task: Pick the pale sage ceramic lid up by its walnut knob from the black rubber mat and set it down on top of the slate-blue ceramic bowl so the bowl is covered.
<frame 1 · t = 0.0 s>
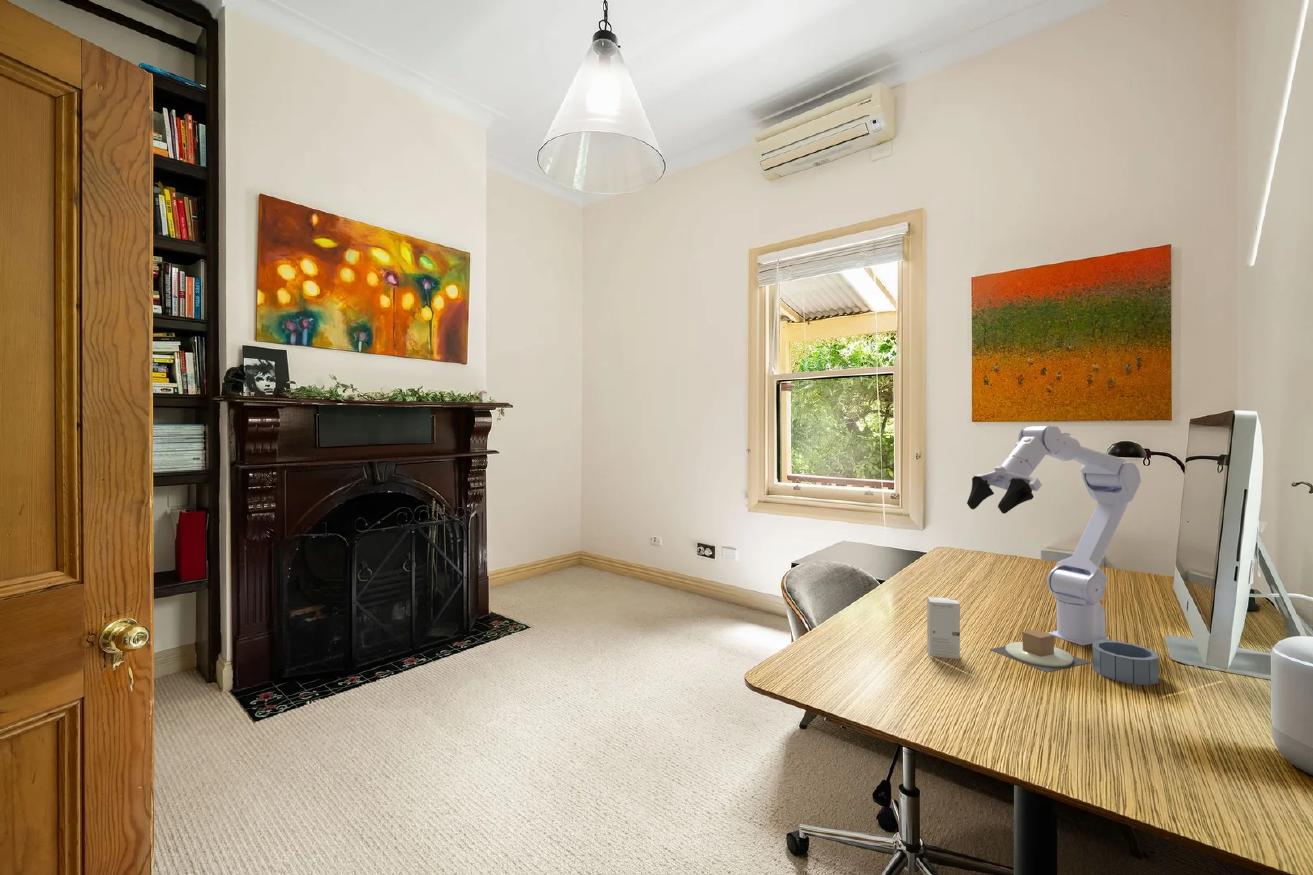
hand: (985, 508, 121), 32 cm above the table, tool tilted 50°, fingers open, 7 cm apart
mat: (1038, 656, 120), on the table
lid: (1038, 655, 120), resting on mat
bowl: (1125, 674, 111), on the table
skincare box: (943, 655, 122), on the table
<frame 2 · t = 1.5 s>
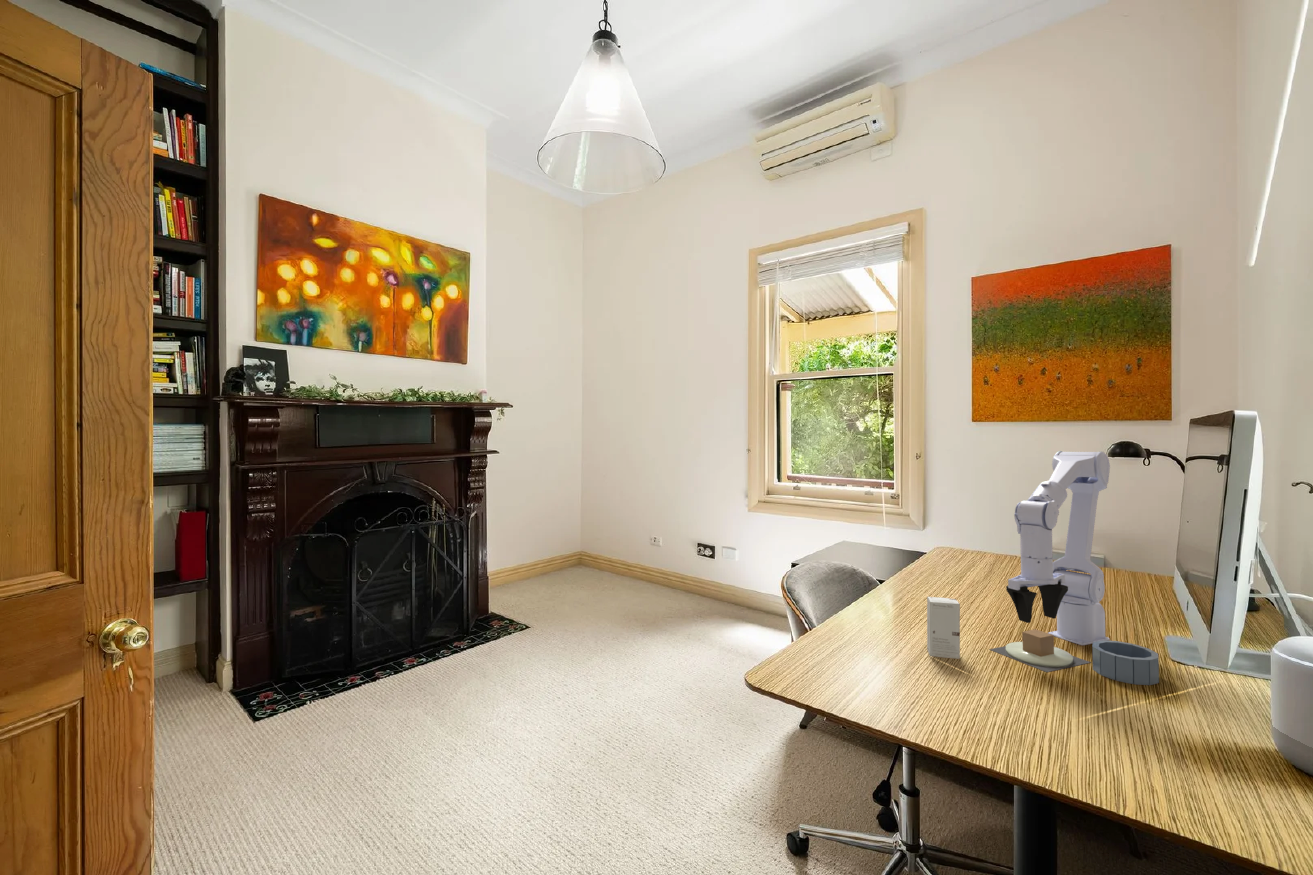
hand: (1037, 619, 120), 8 cm above the table, tool pointing down, fingers open, 7 cm apart
nothing on the table moved.
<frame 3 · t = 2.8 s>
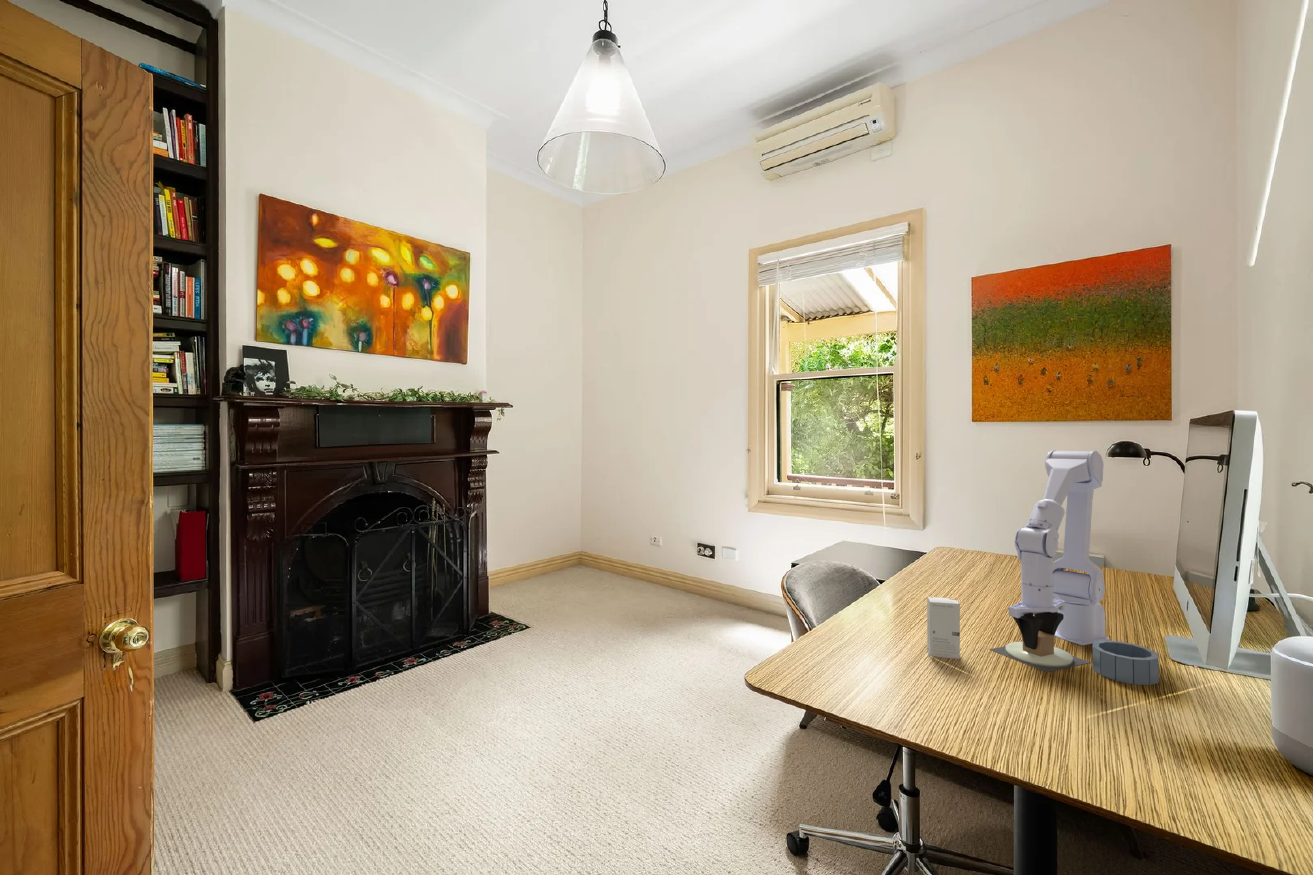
hand: (1038, 646, 120), 2 cm above the table, tool pointing down, fingers closed on lid, 4 cm apart
lid: (1038, 655, 120), resting on mat, touching gripper
everything else where it was.
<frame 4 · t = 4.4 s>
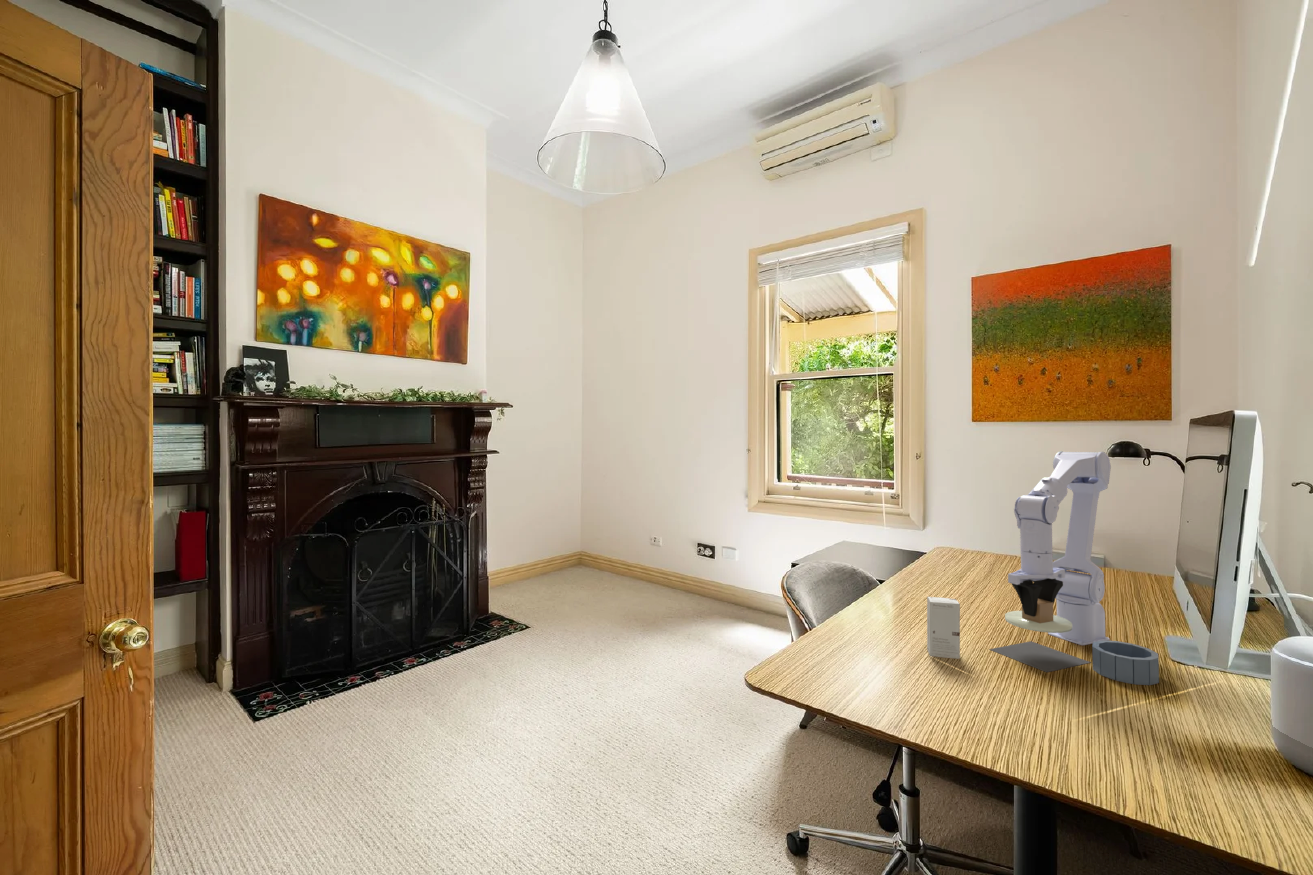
hand: (1037, 613, 120), 9 cm above the table, tool pointing down, fingers closed on lid, 4 cm apart
lid: (1037, 622, 120), point 7 cm above the table, touching gripper
everything else where it was.
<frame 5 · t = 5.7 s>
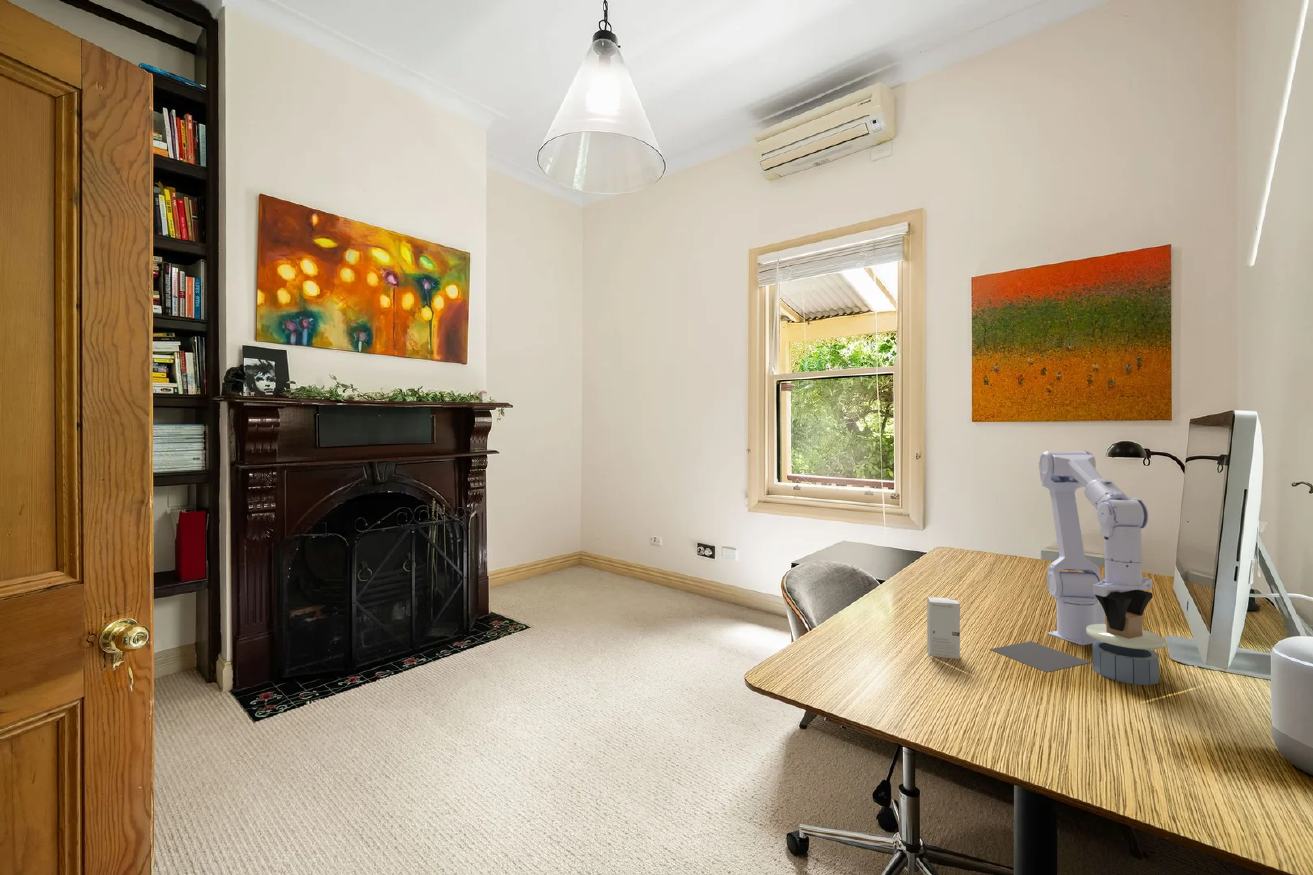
hand: (1124, 627, 111), 9 cm above the table, tool pointing down, fingers closed on lid, 4 cm apart
lid: (1124, 637, 111), point 7 cm above the table, touching gripper
everything else where it was.
when the fingers open (8 cm above the table, at t = 6.4 s): lid stays where it is, resting on bowl.
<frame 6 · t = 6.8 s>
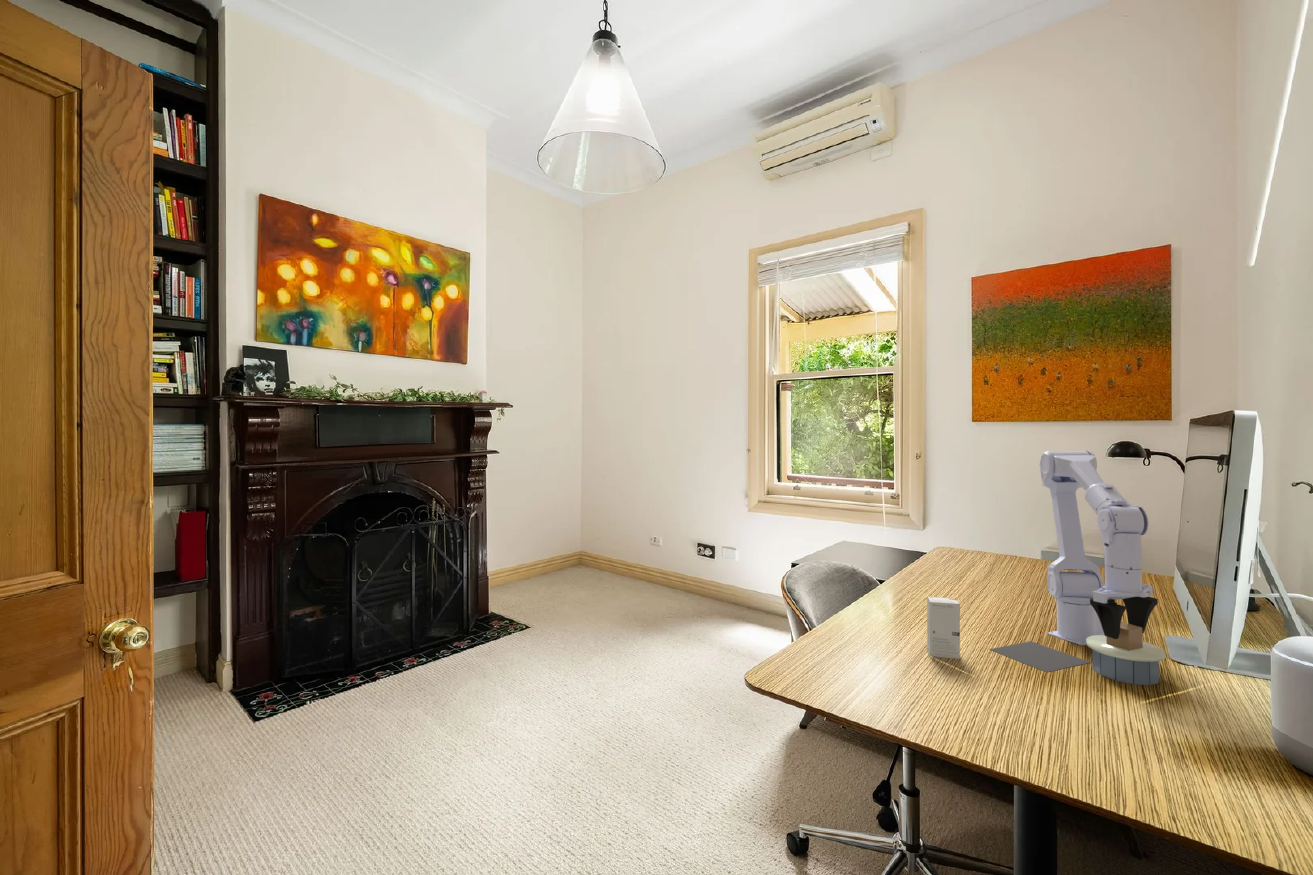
hand: (1124, 634, 111), 8 cm above the table, tool pointing down, fingers open, 7 cm apart
lid: (1124, 649, 111), point 5 cm above the table, touching bowl
everything else where it was.
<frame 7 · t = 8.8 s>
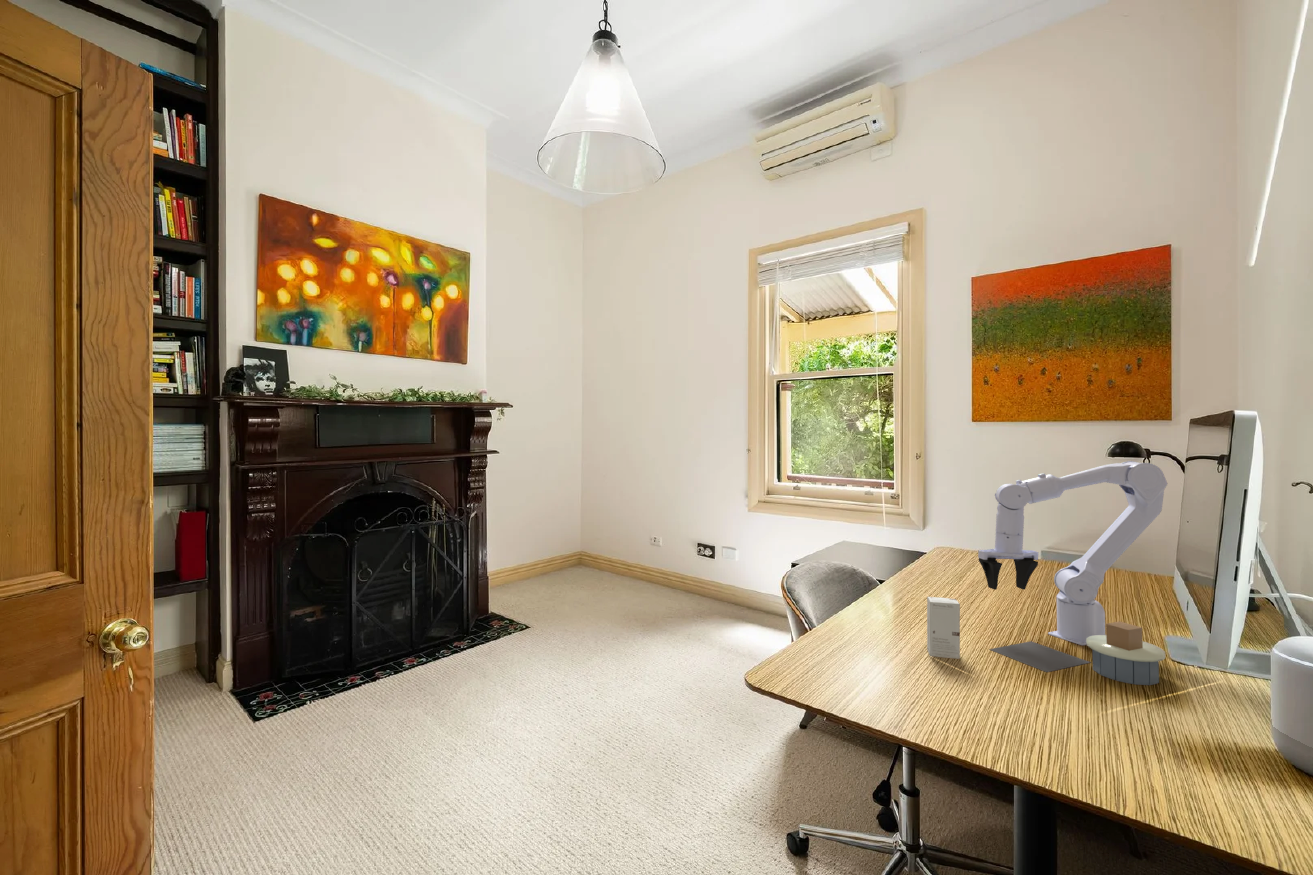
hand: (1006, 588, 136), 10 cm above the table, tool pointing down, fingers open, 7 cm apart
nothing on the table moved.
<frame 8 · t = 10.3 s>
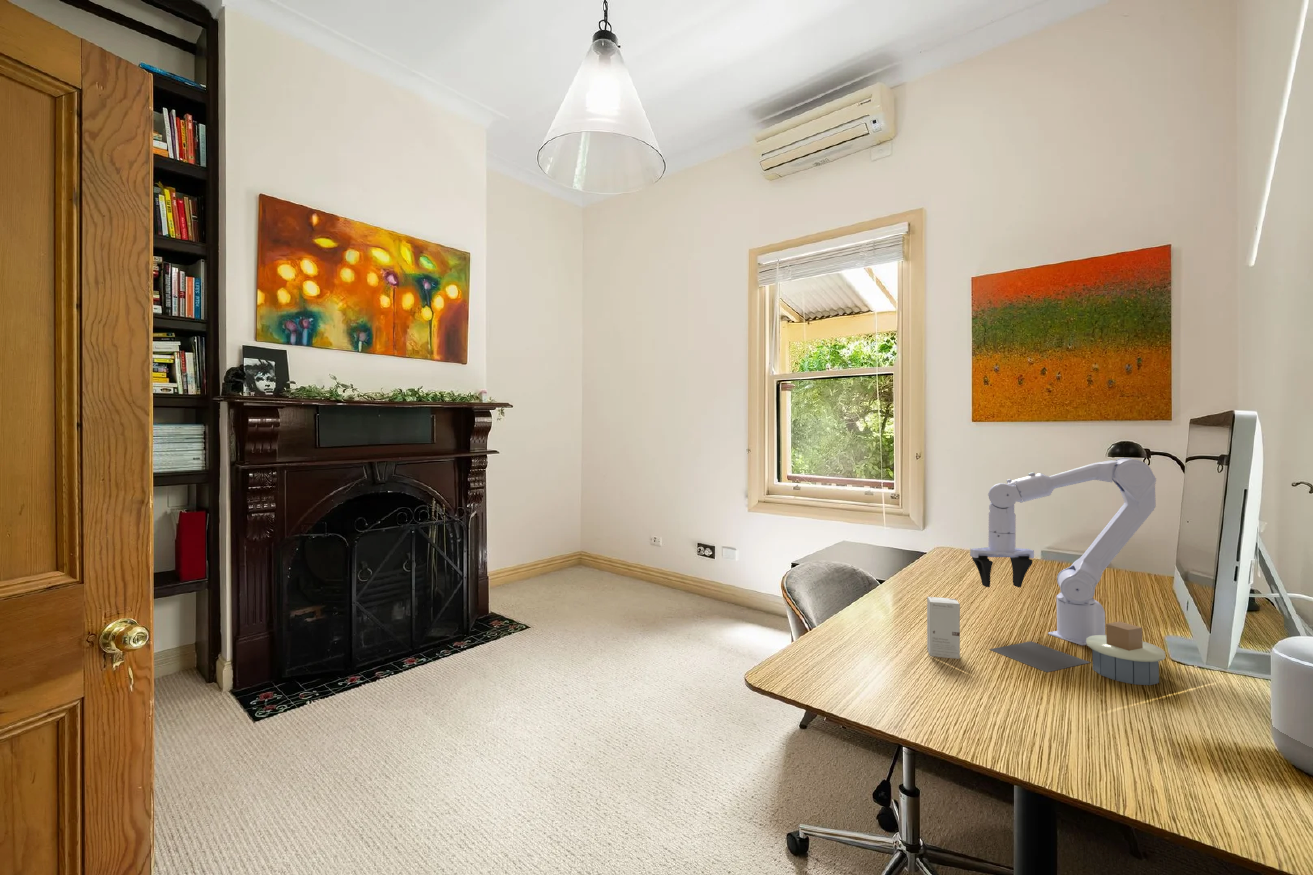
hand: (1001, 586, 138), 10 cm above the table, tool pointing down, fingers open, 7 cm apart
nothing on the table moved.
at the end: lid 0.0 cm off-centre on the bowl, point 5.0 cm above the bowl's base; lid tilted 0°; the gripper is holding nothing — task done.
